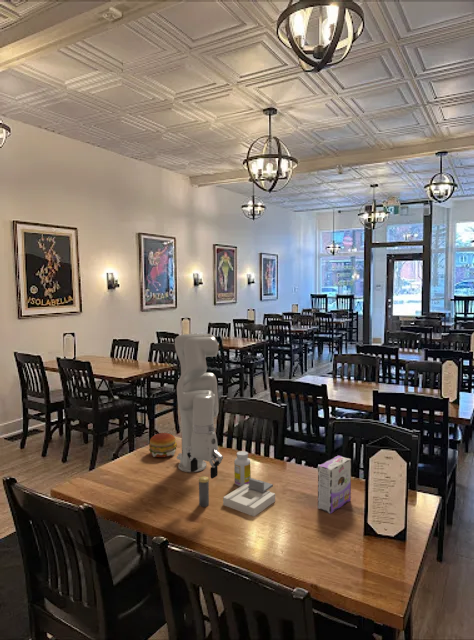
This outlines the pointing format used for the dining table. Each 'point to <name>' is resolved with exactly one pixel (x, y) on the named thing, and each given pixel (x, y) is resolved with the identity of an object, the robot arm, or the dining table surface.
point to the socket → (248, 500)
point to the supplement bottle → (242, 468)
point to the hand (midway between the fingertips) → (203, 474)
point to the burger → (162, 445)
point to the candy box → (334, 484)
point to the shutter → (259, 485)
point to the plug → (203, 491)
